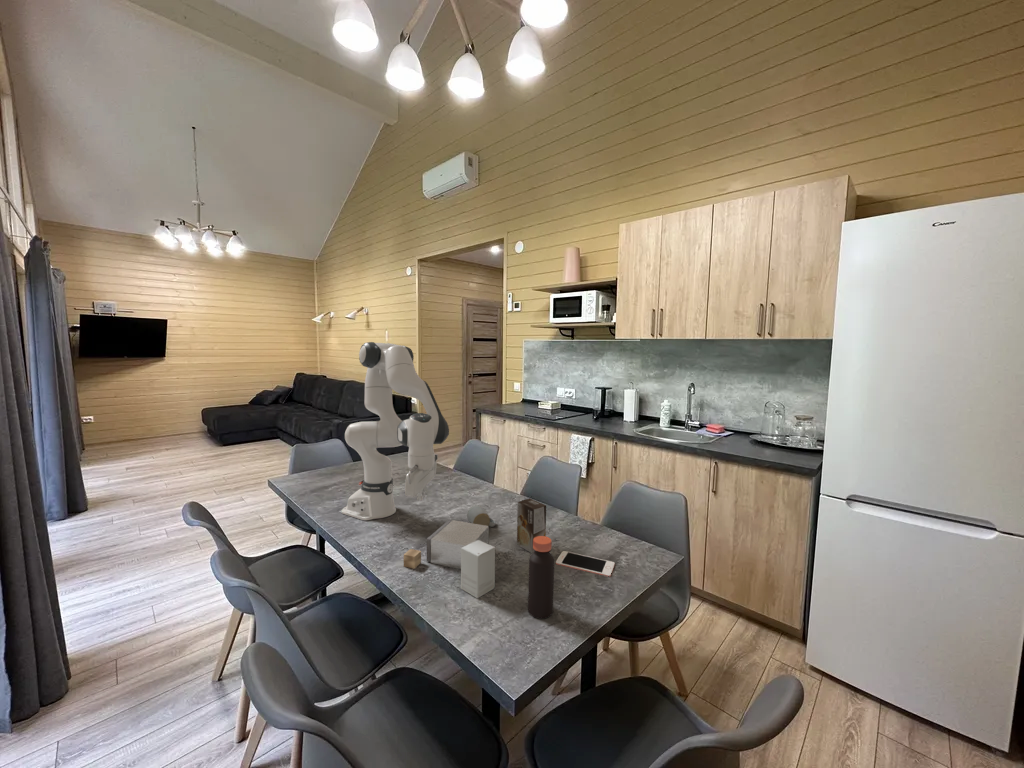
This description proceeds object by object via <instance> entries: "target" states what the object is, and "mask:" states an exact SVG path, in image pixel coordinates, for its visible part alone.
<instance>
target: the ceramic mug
mask: <svg viewBox="0 0 1024 768" xmlns="http://www.w3.org/2000/svg"><path fill="white" fill-rule="evenodd" d="M466 519H467V521H468V523H473V524H479V525H485V526H489V527H492V528H493V527H495V526H496V521H495V520H494V518H491V517H490V515H489V514H488V512H487V511H486V509H485V508H484V507H483V506H482V505H479V504H478V505H477V504H476V505H472V506H471V507H470V508H469V509H468V510H467V513H466Z"/></svg>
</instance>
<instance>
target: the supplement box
mask: <svg viewBox="0 0 1024 768" xmlns="http://www.w3.org/2000/svg"><path fill="white" fill-rule="evenodd" d="M495 571H496V546H494V545H491V544H489V543H488V544H487V543H484V542H482V541H480V540H477V541H475V542H473V543H470V544H468V545H466V546H464V547H462V548H461V569H460V589H461V590H462V591H464V592H466V593H468V594H469V595H471V596H472V597H474V598H476V599H479V598H480V597H482V596H484V595H485V594H487V593H489V592H490V591H493V590H494V589H495V585H496V582H495V580H496V578H495V577H496V576H495V575H496V573H495Z"/></svg>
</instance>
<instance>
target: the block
mask: <svg viewBox="0 0 1024 768" xmlns="http://www.w3.org/2000/svg"><path fill="white" fill-rule="evenodd" d="M421 563H422V551H421V550H417V549H413V548H410V549H408V550H407V551H406V552H405V553H403V568H409V569H416V568H417V567H419V565H420V564H421Z"/></svg>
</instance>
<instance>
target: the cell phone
mask: <svg viewBox="0 0 1024 768" xmlns="http://www.w3.org/2000/svg"><path fill="white" fill-rule="evenodd" d="M555 564H556V565H557V566H561V567H567V568H570V569H574V570H579V571H583V572H587V573H591V574H595V575H601V576H603V575H604V576H603V577H608V576H609V577H611V576H612V574H613V571H614V567H615V566H616V565H615V564H616V563H615V562H614V561H611V560H607V559H601V558H597V557H593V556H589V555H584V554H579V553H577V552H576V553H575V552H571V551H567V550H566V551H565V550H563V551H562V552H561V553H560V555H559V556H558V558H557V559H556V560H555ZM611 573H612V574H611ZM609 577H608V578H609Z"/></svg>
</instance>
